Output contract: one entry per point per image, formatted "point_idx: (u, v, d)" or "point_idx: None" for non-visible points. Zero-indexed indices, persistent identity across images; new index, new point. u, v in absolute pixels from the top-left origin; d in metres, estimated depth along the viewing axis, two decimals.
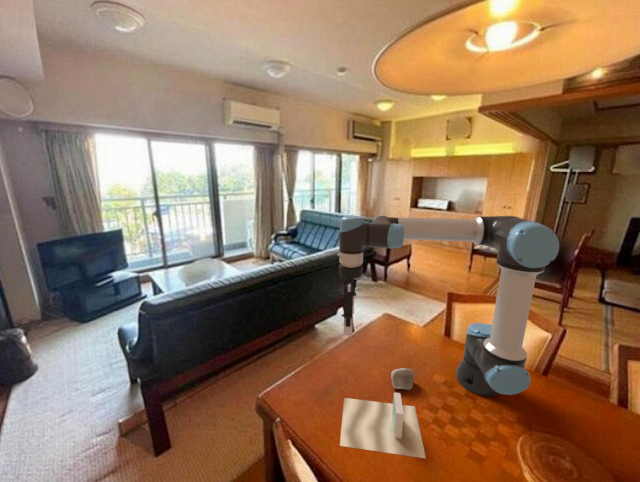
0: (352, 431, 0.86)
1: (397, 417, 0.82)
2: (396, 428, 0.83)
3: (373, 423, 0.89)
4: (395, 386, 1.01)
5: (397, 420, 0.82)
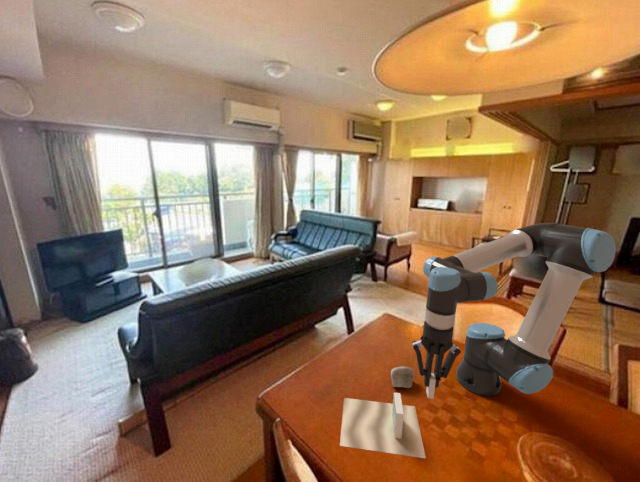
0: (352, 431, 0.86)
1: (397, 417, 0.82)
2: (396, 428, 0.83)
3: (373, 423, 0.89)
4: (394, 384, 1.02)
5: (397, 420, 0.82)
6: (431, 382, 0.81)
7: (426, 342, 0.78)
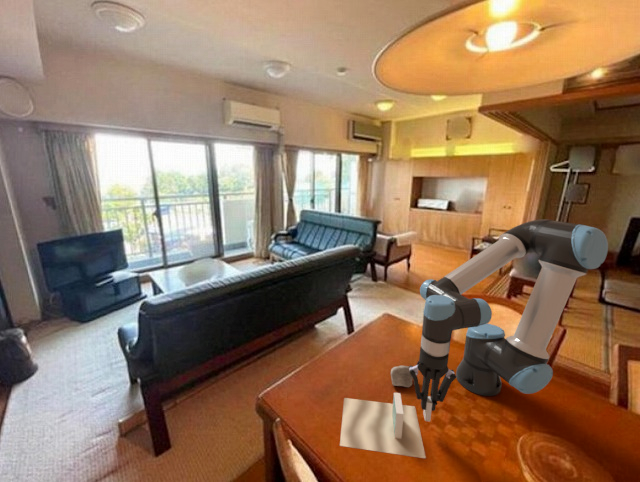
0: (352, 431, 0.86)
1: (397, 417, 0.82)
2: (396, 428, 0.83)
3: (373, 423, 0.89)
4: (394, 383, 1.02)
5: (397, 420, 0.82)
6: (428, 406, 0.83)
7: (422, 367, 0.80)
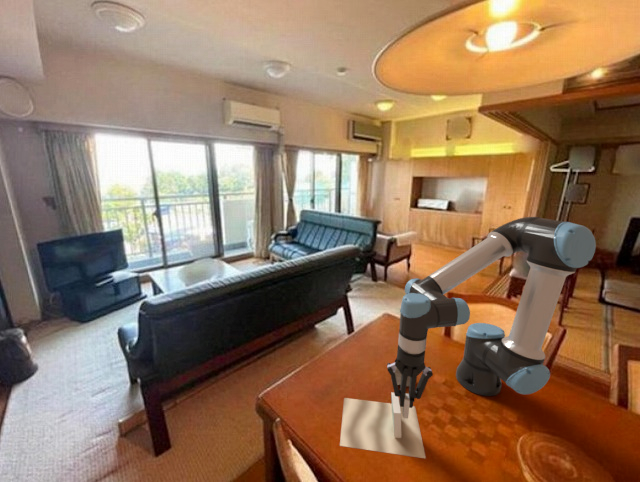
0: (352, 431, 0.86)
1: (395, 417, 0.82)
2: (395, 428, 0.83)
3: (373, 423, 0.89)
4: None
5: (395, 420, 0.82)
6: (405, 403, 0.84)
7: (400, 365, 0.81)
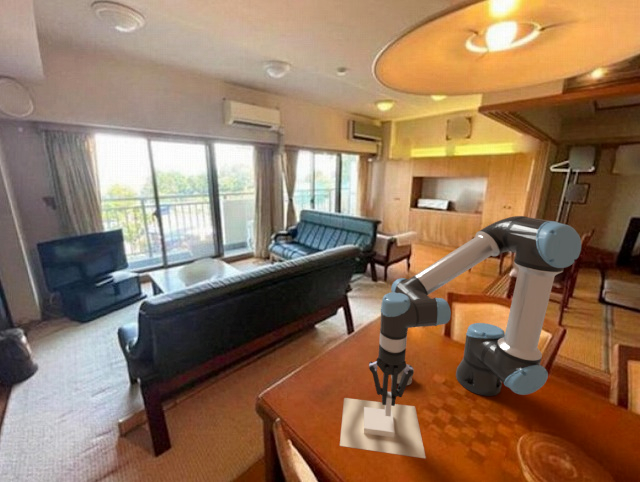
0: (352, 431, 0.86)
1: (368, 433, 0.85)
2: (382, 435, 0.84)
3: None
4: None
5: (372, 433, 0.85)
6: (387, 401, 0.84)
7: (381, 363, 0.82)
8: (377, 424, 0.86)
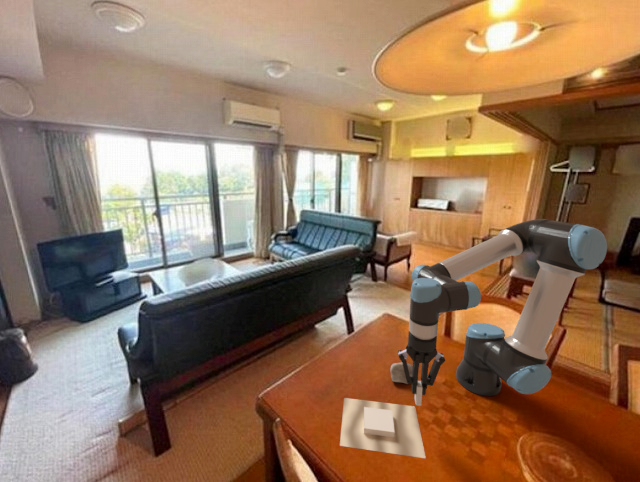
0: (352, 431, 0.86)
1: (368, 433, 0.85)
2: (382, 435, 0.84)
3: None
4: (393, 379, 1.04)
5: (372, 433, 0.85)
6: (418, 390, 0.82)
7: (411, 351, 0.80)
8: (377, 424, 0.86)
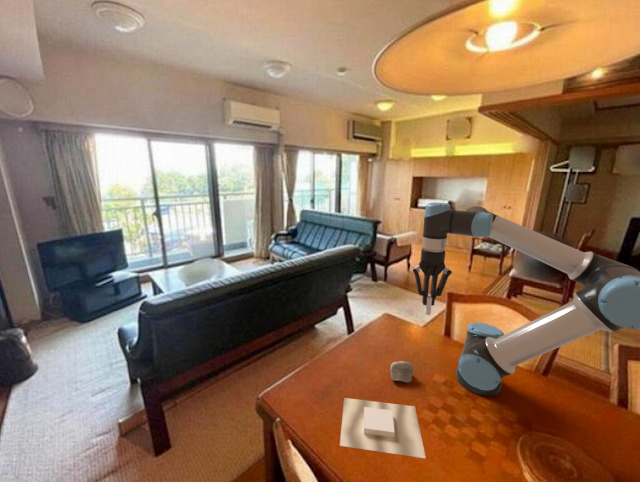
0: (352, 431, 0.86)
1: (368, 433, 0.85)
2: (382, 435, 0.84)
3: None
4: (393, 377, 1.05)
5: (372, 433, 0.85)
6: (428, 300, 0.97)
7: (423, 265, 0.95)
8: (377, 424, 0.86)
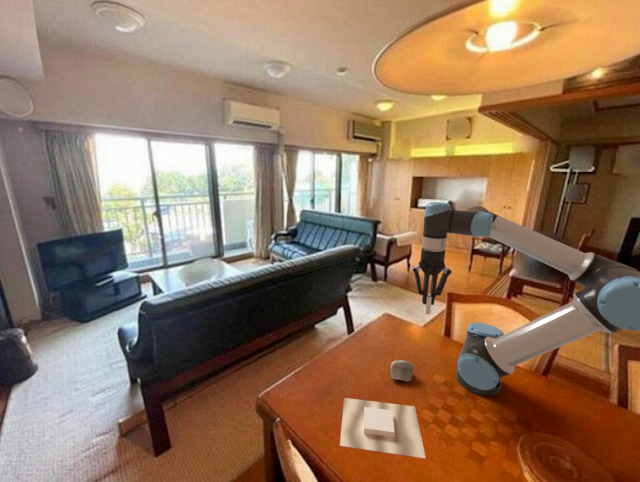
0: (352, 431, 0.86)
1: (368, 433, 0.85)
2: (382, 435, 0.84)
3: None
4: (393, 376, 1.06)
5: (372, 433, 0.85)
6: (428, 299, 0.98)
7: (423, 265, 0.95)
8: (377, 424, 0.86)
